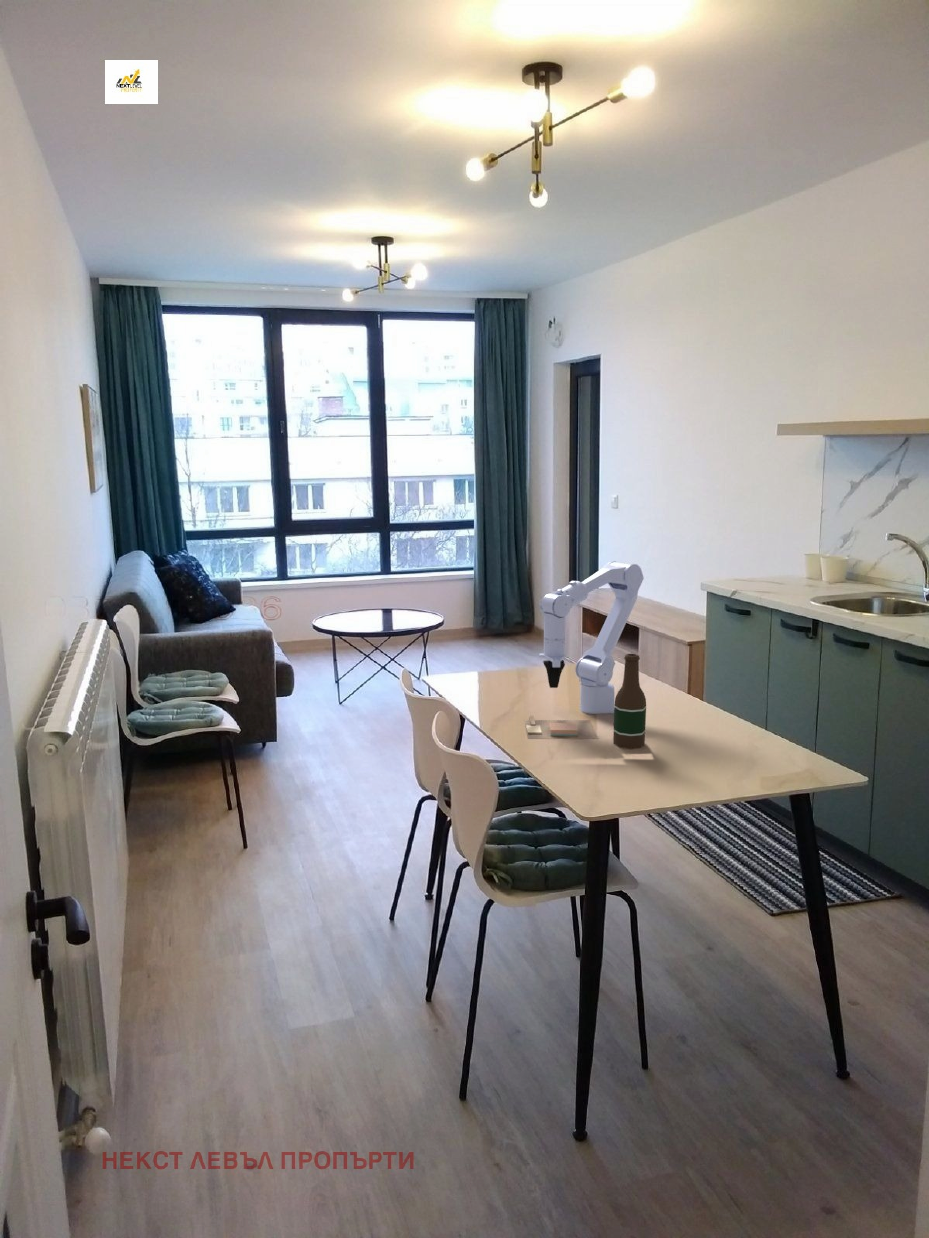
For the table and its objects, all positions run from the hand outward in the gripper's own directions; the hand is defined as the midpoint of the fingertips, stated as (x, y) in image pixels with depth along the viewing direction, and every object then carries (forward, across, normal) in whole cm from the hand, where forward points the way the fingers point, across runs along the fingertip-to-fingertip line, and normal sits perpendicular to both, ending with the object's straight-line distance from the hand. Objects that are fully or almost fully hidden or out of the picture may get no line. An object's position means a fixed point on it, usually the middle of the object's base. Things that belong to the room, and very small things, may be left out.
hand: (553, 687), depth 243 cm
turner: (+9, +8, -6) cm, 13 cm away
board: (+10, +10, +1) cm, 14 cm away
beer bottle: (+10, +22, +17) cm, 30 cm away
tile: (+8, +10, +2) cm, 13 cm away
